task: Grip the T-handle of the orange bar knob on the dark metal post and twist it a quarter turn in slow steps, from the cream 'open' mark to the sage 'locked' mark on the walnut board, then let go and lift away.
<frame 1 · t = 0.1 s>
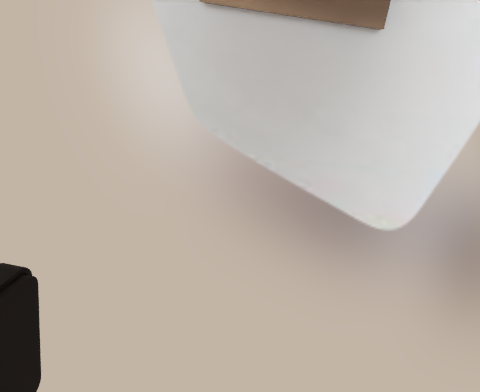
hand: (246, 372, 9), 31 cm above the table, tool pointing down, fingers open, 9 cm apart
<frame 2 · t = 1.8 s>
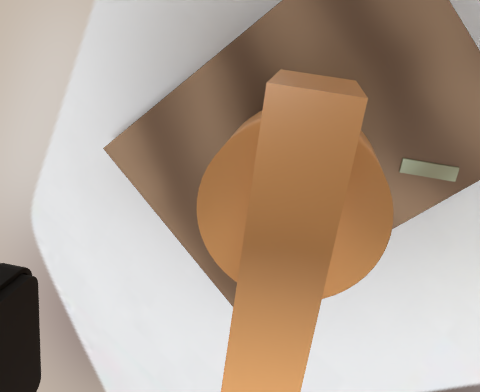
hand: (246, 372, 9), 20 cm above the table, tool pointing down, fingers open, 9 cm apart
orange bar knob: (289, 224, 16), point 12 cm above the table, hinge at 0.0°
post board: (303, 140, 27), on the table
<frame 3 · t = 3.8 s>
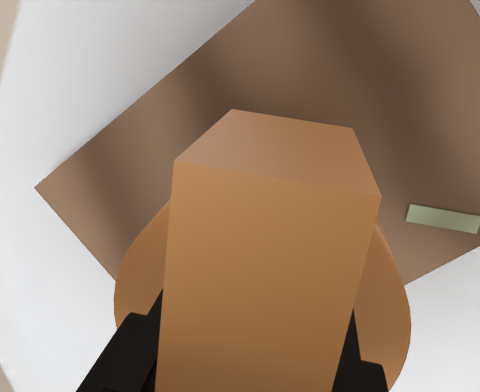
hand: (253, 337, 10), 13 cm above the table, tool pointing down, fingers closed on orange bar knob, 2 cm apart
orange bar knob: (253, 338, 11), point 12 cm above the table, hinge at 0.0°, touching gripper
post board: (285, 176, 22), on the table
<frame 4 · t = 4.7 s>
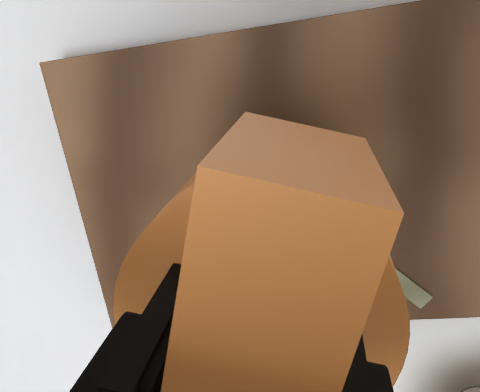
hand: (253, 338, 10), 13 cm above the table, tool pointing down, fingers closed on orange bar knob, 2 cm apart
orange bar knob: (252, 340, 11), point 12 cm above the table, hinge at 25.7°, touching gripper
post board: (284, 177, 22), on the table
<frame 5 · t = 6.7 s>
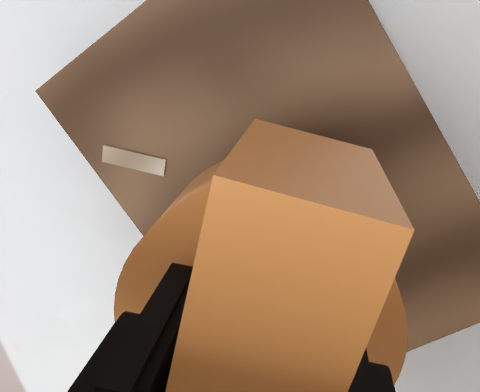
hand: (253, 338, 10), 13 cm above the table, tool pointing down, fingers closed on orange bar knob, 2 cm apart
orange bar knob: (250, 344, 11), point 12 cm above the table, hinge at 88.0°, touching gripper
post board: (284, 181, 22), on the table
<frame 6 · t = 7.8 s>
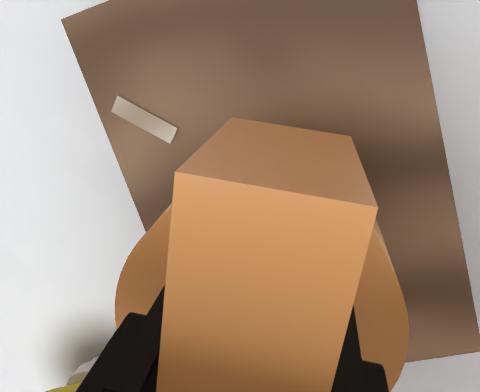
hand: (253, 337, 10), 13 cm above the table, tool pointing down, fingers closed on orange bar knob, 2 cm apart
orange bar knob: (253, 343, 11), point 12 cm above the table, hinge at 109.6°, touching gripper
post board: (285, 180, 22), on the table
light bulb: (108, 368, 28), on the table
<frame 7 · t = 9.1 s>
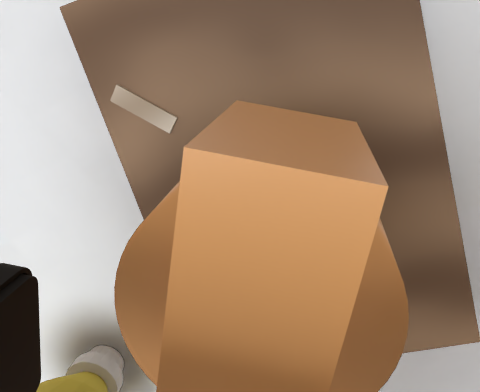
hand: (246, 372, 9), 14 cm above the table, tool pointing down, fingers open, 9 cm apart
orange bar knob: (252, 329, 11), point 12 cm above the table, hinge at 108.6°
post board: (284, 171, 22), on the table
light bulb: (107, 358, 28), on the table
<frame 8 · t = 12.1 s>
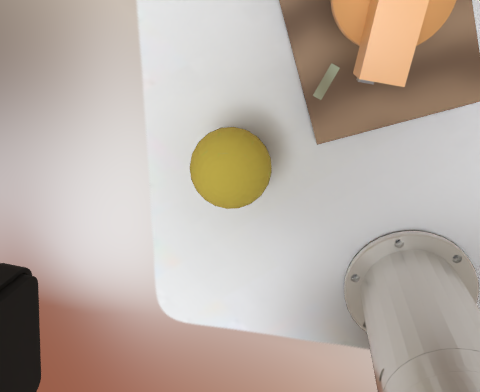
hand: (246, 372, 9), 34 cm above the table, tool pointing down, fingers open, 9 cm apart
post board: (369, 3, 37), on the table
light bulb: (242, 148, 43), on the table
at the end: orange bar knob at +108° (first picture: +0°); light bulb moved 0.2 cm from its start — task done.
